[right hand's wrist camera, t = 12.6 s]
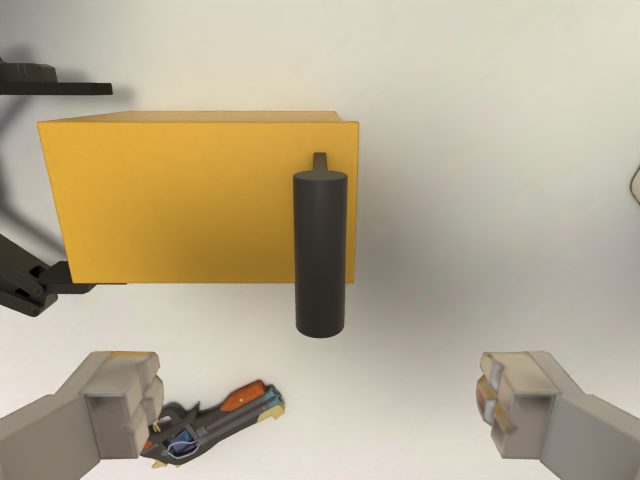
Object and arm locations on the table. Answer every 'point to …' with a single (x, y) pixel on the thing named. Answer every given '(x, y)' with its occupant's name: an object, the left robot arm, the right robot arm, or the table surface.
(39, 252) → the table surface
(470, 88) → the table surface
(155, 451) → the toy gun
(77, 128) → the lid
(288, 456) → the table surface
